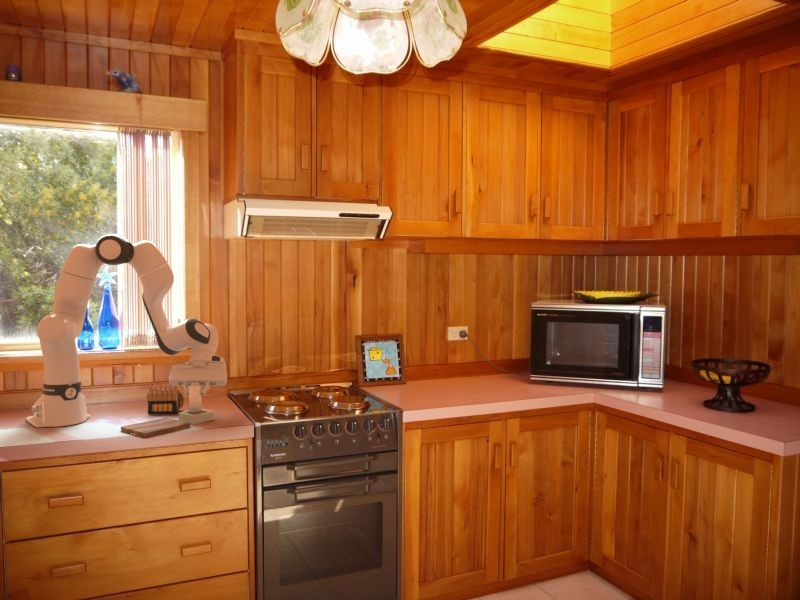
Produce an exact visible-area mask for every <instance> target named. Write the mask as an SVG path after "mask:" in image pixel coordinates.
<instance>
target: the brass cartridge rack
mask: <svg viewBox="0 0 800 600" xmlns="http://www.w3.org/2000/svg"><path fill="white" fill-rule="evenodd" d="M152 390H153V393H154V388H152ZM157 391H158V393H159V387H157ZM162 392H164V387H162ZM167 392H168V387H167ZM172 393H173V388H172ZM148 394H149V392H148V393H147V397H146V400H147V402H148V401H149V400H148ZM177 400H178V411H179V410H180V409H181V408H183V405H184V401H185V399H184V396H183V394H182V393H181V391H180V390H178V389H177ZM153 410H154V404H153ZM158 410H159V408H158Z"/></svg>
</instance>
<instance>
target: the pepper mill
mask: <svg viewBox="0 0 800 600" xmlns="http://www.w3.org/2000/svg"><path fill="white" fill-rule="evenodd" d="M188 389H189V395H188V411H190V412H197V411H201V409H202V395H201V394H200V391H201V389H202V386H201V385H199V382H191V385H189V386H188Z"/></svg>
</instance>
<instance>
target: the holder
mask: <svg viewBox="0 0 800 600" xmlns="http://www.w3.org/2000/svg"><path fill="white" fill-rule="evenodd" d="M178 412H179V411H178ZM214 419H215V412H214V411H213V410H209V409H204V408H201V411H197V412H190V411H189V410H185V411H180V412H179V413H178V420H179V421H183V422H188V423H190V425H199V424H202V423H206V421H207V422H210V420H211V421H214Z"/></svg>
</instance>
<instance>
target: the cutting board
mask: <svg viewBox="0 0 800 600" xmlns="http://www.w3.org/2000/svg"><path fill="white" fill-rule="evenodd" d="M185 428H186V429H189V428H191V424H190V423H188V422H183V421H179V419H174V418H171V417H167V416H166V417H163V418H157V419H153V420H147V421H143V422H138V423H134V424H133V423H132V424H128V425H123V426H120V432H122V431H124V432H123V433H125V432H127V433H126V434H129V433H132V434H135V435H134V436H136V435H137V436H136V437H139V438H143V439H146V438H150V437H154V436H159V435H164V434H167V433H171V432H172V433H173V432H176V430H177V431H181V430H185ZM132 434H131V435H132Z"/></svg>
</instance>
